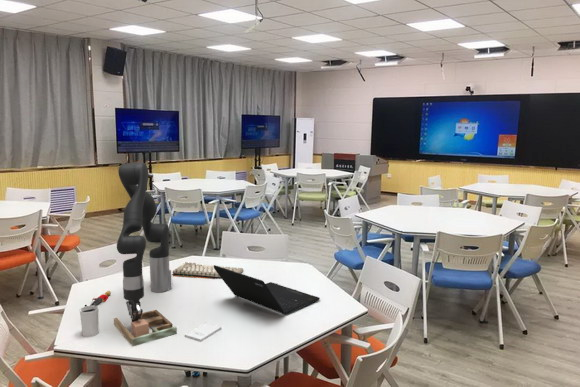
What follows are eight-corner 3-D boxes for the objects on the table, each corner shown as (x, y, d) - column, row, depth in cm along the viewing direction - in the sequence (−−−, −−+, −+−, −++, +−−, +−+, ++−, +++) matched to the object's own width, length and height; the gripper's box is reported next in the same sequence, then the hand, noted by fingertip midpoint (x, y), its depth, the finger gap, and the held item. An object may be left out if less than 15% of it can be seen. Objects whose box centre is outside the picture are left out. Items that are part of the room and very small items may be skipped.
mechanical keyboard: (245, 270, 250) (245, 265, 250) (235, 282, 232) (235, 276, 231) (183, 266, 257) (183, 261, 256) (168, 277, 238) (168, 271, 238)
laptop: (320, 301, 205) (321, 261, 203) (262, 327, 178) (262, 281, 175) (270, 284, 228) (270, 248, 225) (212, 304, 200) (211, 264, 198)
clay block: (144, 330, 173) (144, 318, 172) (149, 335, 169) (148, 323, 168) (131, 334, 170) (131, 322, 169) (136, 339, 166) (135, 326, 165)
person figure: (84, 300, 193) (105, 286, 210) (82, 308, 193) (103, 293, 211) (94, 304, 192) (115, 289, 210) (92, 312, 193) (113, 297, 211)
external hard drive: (221, 330, 175) (200, 343, 165) (205, 326, 179) (184, 338, 169) (221, 326, 175) (200, 339, 164) (205, 322, 179) (184, 334, 168)
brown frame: (154, 313, 189) (154, 308, 189) (176, 333, 171) (176, 327, 171) (113, 324, 179) (113, 318, 179) (132, 346, 161) (132, 339, 160)
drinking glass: (87, 329, 174) (85, 305, 173) (103, 329, 174) (101, 305, 172) (77, 336, 168) (75, 311, 166) (94, 337, 167) (92, 312, 166)
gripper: (148, 288, 168) (150, 331, 171) (137, 279, 178) (139, 319, 181) (129, 292, 164) (131, 336, 166) (118, 282, 174) (120, 324, 176)
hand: (135, 327), depth 174 cm, fingers closed
